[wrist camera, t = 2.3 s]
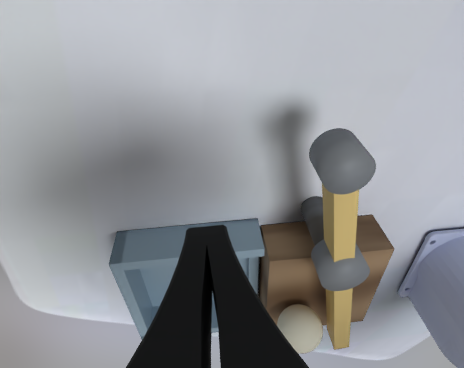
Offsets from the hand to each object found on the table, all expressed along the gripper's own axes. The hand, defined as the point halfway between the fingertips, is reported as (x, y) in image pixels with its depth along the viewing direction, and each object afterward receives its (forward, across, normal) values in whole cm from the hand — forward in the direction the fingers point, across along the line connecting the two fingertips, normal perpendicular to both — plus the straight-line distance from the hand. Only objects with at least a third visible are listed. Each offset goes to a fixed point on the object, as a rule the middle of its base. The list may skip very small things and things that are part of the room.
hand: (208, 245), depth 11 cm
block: (+9, -8, +13) cm, 18 cm away
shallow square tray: (+9, +2, +14) cm, 17 cm away
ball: (+6, -6, +16) cm, 18 cm away
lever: (+5, -8, +8) cm, 12 cm away
